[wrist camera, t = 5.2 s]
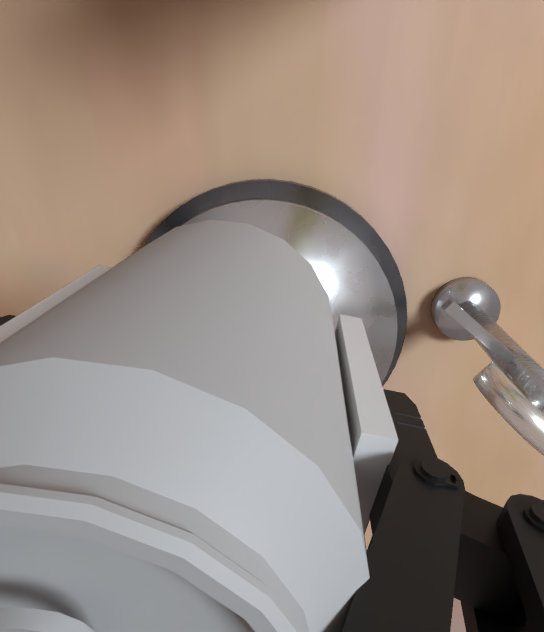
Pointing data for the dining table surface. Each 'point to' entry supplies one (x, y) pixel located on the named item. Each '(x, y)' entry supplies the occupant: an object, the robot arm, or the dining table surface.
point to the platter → (327, 264)
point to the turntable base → (315, 200)
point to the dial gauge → (494, 355)
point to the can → (180, 448)
